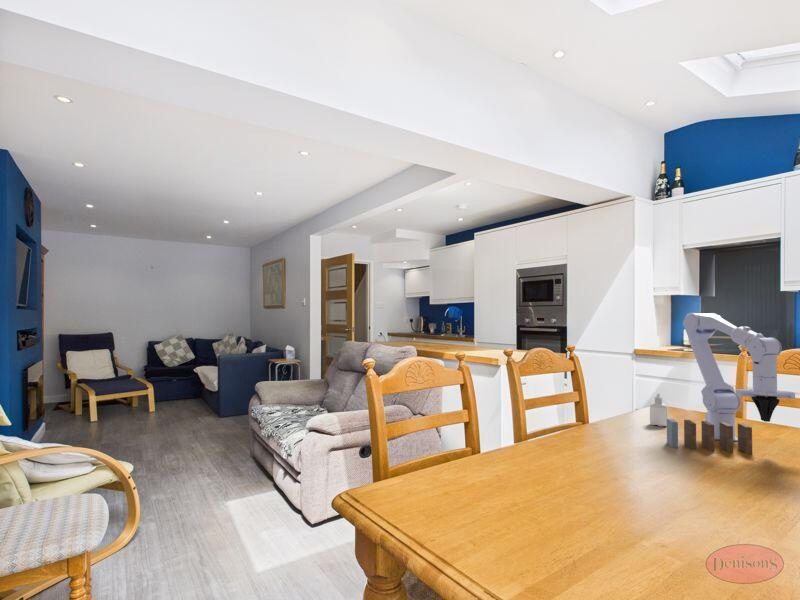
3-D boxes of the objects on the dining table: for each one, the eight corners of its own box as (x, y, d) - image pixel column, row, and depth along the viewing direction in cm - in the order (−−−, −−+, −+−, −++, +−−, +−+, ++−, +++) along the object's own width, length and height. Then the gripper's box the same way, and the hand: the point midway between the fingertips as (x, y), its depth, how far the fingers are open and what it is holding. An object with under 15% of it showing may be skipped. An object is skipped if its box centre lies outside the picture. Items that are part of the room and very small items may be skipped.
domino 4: (727, 451, 132) (726, 425, 132) (719, 447, 137) (719, 421, 137) (733, 452, 132) (733, 426, 132) (725, 447, 137) (725, 422, 137)
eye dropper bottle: (663, 427, 160) (663, 395, 160) (648, 424, 164) (647, 393, 165) (669, 426, 162) (668, 394, 163) (653, 422, 167) (653, 392, 167)
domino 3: (708, 450, 133) (708, 424, 134) (701, 445, 138) (701, 420, 138) (714, 450, 133) (714, 424, 133) (707, 446, 138) (707, 421, 138)
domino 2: (690, 449, 135) (690, 423, 135) (684, 444, 140) (684, 419, 140) (696, 449, 134) (696, 423, 135) (689, 444, 139) (689, 420, 139)
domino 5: (746, 453, 131) (745, 427, 131) (737, 448, 136) (737, 423, 136) (752, 453, 130) (751, 427, 131) (743, 448, 135) (743, 423, 136)
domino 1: (672, 447, 136) (672, 422, 136) (666, 443, 141) (666, 418, 141) (678, 448, 136) (677, 422, 136) (672, 443, 140) (672, 418, 141)
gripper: (744, 377, 130) (744, 422, 130) (801, 379, 127) (802, 425, 126) (732, 374, 137) (733, 416, 137) (786, 376, 134) (787, 420, 133)
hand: (765, 420), depth 132 cm, fingers closed
